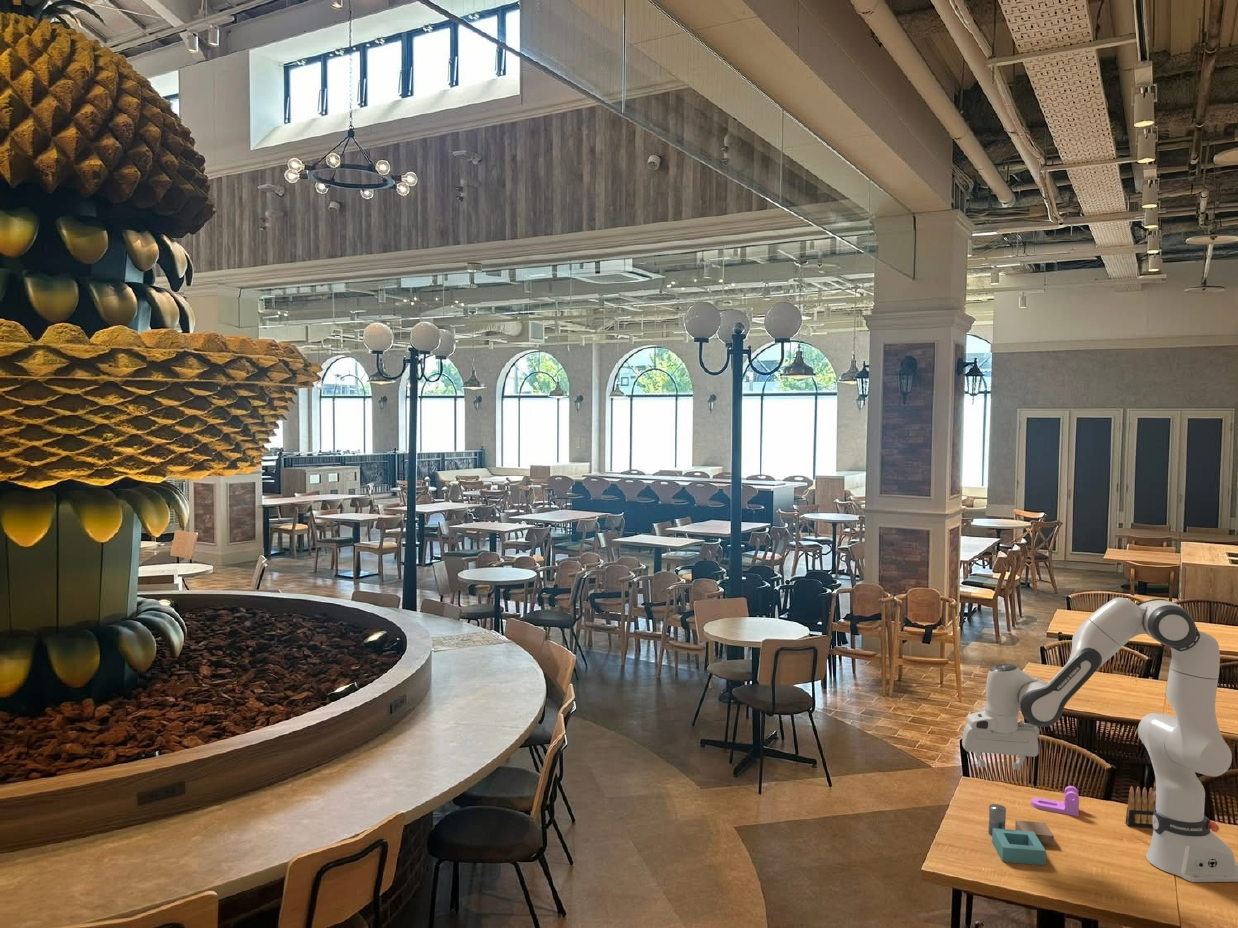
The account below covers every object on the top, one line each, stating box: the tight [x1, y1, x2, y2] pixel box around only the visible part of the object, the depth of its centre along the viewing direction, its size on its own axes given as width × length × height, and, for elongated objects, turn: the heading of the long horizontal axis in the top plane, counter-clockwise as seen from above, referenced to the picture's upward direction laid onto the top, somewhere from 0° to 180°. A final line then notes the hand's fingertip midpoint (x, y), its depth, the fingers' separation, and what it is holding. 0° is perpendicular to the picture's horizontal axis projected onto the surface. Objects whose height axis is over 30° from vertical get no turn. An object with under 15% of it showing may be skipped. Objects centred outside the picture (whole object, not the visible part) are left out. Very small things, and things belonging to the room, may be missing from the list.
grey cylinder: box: [988, 803, 1007, 837], centre depth 254 cm, size 4×4×8 cm
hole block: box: [991, 828, 1047, 866], centre depth 244 cm, size 11×11×4 cm
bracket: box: [1030, 785, 1080, 817], centre depth 271 cm, size 13×6×7 cm, turn 65°
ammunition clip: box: [1125, 785, 1156, 829], centre depth 260 cm, size 11×2×12 cm, turn 82°
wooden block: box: [1014, 820, 1055, 847], centre depth 252 cm, size 8×8×3 cm
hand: (998, 767), depth 253 cm, fingers open, 8 cm apart
